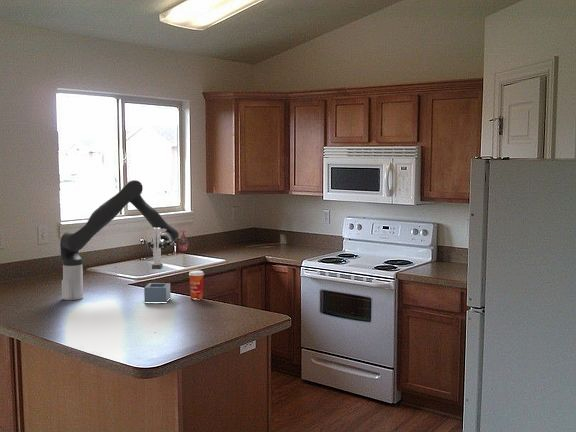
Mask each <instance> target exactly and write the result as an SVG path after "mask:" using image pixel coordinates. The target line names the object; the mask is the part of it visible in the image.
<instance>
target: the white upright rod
mask: <svg viewBox="0 0 576 432" xmlns="http://www.w3.org/2000/svg"><path fill="white" fill-rule="evenodd" d="M161 230H162V229H161V228H153V227H152V241H153V248H152V249H153V250H152V251H153V253H152V254H153V257H152V259H153V264H151V269H152V270H162V269H163V268H164V267H163V263H162V253H161V252H162V251H161V248H159V243H161V234H162V233H161Z"/></svg>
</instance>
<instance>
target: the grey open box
mask: <svg viewBox="0 0 576 432" xmlns="http://www.w3.org/2000/svg"><path fill="white" fill-rule="evenodd" d="M143 293H144V295H143V297H144V298H143V299H144V302H167V300H168V299H169V298H170V299H171V283H170V282H169V283H168V282H166V283H164V282H163V283H162V282H149V283H148V284H146V285H145V286H144V289H143ZM144 302H143V303H144Z"/></svg>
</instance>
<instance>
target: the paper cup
mask: <svg viewBox="0 0 576 432" xmlns="http://www.w3.org/2000/svg"><path fill="white" fill-rule="evenodd" d="M188 275H189V277H188V278H189V292H190V299H191V298H197V299H202V300H203V289H204V287H203V286H204V275H205V273H204V271H203V270H191V271H189V273H188Z"/></svg>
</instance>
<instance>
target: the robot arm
mask: <svg viewBox="0 0 576 432" xmlns="http://www.w3.org/2000/svg"><path fill="white" fill-rule="evenodd" d="M143 188H144V186H143V184H142V182H141V181H140V180H136V179H133V180H129V181H127V182H126V183H125V184H124V185H123V187H122V189H120V191H119V192H117V193H116V194H115V195H113V196H112V197H111V198H109V199H108V200H106V201H105V202H103V203H102V204H101V205H100V206H98V208H96V209H95V210H94V211H93V212H92V213H91V214H90V216H89V218H88V220H87V222H86V223H85V224H84V225H83V226H82V227H81V228H79V230H77V231H75V232H73V231H67V232H65V233H63V234H62V236H61V237H60V241H59V242H60V243H59V246H60V247H59V248H60V258H61V261H62V278H63V279H62V280H61V299H62V300H65V301H77V300H81V299H83V298H84V278H83V271H84V270H83V258H82V257H81V255H80V253H79V251H81V250H82V249H83V248H84V247H85V246H86V245H87V244H88V242H90V241H91V240H92V238H93V237H94V236H95V235H97V233H99V232H100V231H102V229H104V227H106V226H107V225H108V224H110V222H112V221H113V220H115V218H116V217H117V216H118V215H119V214H120V212H121V211H122V210H124V208H125V207H126V206H127V205H128V204H129V203H130V204H132V205H133V206H134V207H135V208H136V209H137V210H138V211H139V213H141V215H142V216H143V217H144V218H145V220H146V221H147V222H148V224H149V225H150V226H151V227H152V229H153V228H161V230H162V229H164V230H165V231H164V232H162V233H161V243H159V248H161V250H165V249H166V248H169V247H173V246H174V242H175V241H176V240H177V239H179V232H178V230H177V229H175V228H174V227H172V226H171V225H170V224H169V223H168V222H167V221H166V220H165V219H164V218H163V217H162V216H161V214H159V212H158V211H157V210H156V209H155V208H153V207H152V206H151V205H149V203H147V202H146V201H145V199H144V198H143V197H142V193H143ZM146 246H147V247H148V248H151V249H153V240H152V241H151V240H146Z"/></svg>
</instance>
